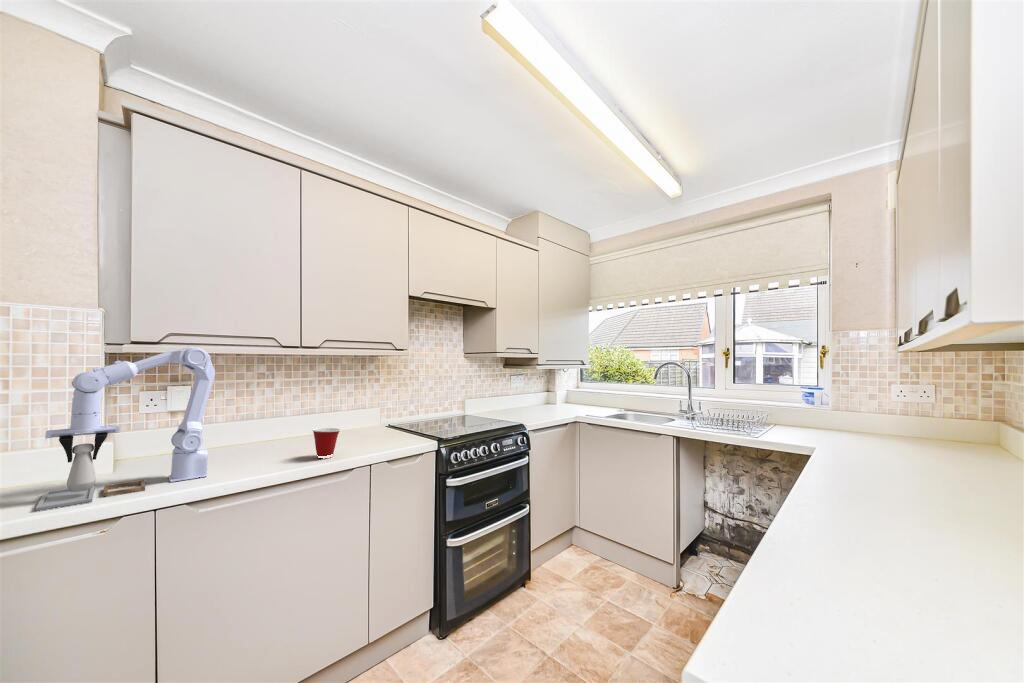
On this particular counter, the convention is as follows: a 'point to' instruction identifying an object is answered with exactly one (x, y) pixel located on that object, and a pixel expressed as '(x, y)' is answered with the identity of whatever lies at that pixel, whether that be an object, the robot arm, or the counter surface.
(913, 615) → the counter surface
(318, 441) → the plastic cup
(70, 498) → the grey tray
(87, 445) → the salt shaker
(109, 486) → the walnut collar
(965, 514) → the counter surface
